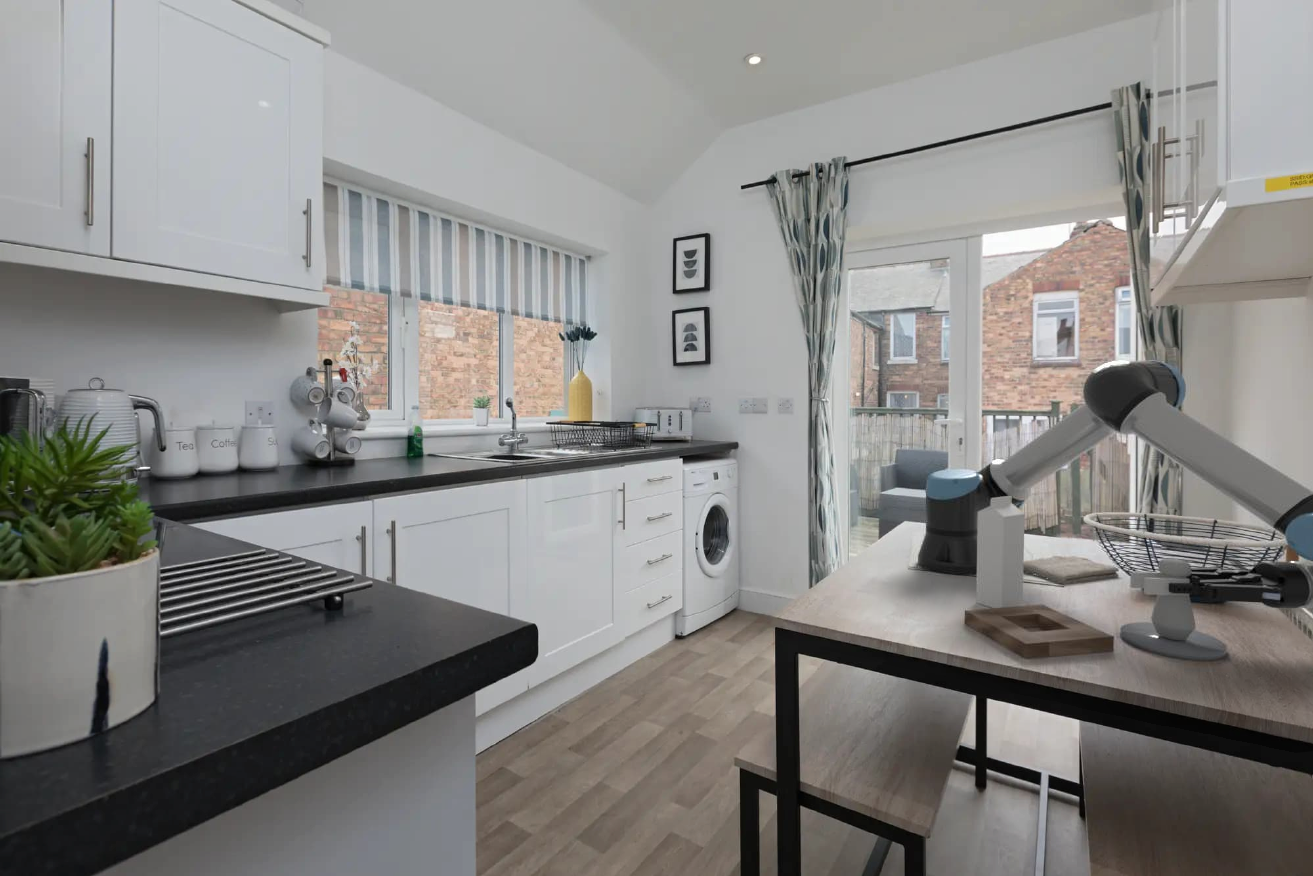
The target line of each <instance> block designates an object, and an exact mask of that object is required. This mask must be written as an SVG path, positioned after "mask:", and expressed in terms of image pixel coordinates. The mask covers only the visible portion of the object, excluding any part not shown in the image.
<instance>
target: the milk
mask: <svg viewBox="0 0 1313 876" xmlns="http://www.w3.org/2000/svg"><path fill="white" fill-rule="evenodd" d="M1025 515H1026V514H1025V513H1024V512H1023V511H1022V510H1020V508H1019V509H1018V508H1017V507H1016V506H1014V505H1013V504H1012V497H1011V496H1005V497H997V498H991V503H990V506H989V507H987V508H985V509H983V510H980V511H978V531H977V574H976V594H975V595H976V597H975V598H976V600H975V602H976V603H977V604H980V605H983V606H986V607H987V608H988V607H989V608H1002V607H1015V606H1024V605H1023V601H1024V600H1023V599H1024V598H1023V597H1024V572H1023V564H1024V561H1025V560H1024V558H1025V557H1024V555H1025V553H1024V552H1025V520H1026V519H1025Z"/></svg>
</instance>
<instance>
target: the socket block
mask: <svg viewBox="0 0 1313 876" xmlns="http://www.w3.org/2000/svg"><path fill="white" fill-rule="evenodd" d="M964 624H965V625H966V626H969V627H970V628H972V629H973V630H975V631H977V632H979V633H981V634H982V635H984V636H986V638H987V637H988V638H989V639H991V640H993V641H995V642H996V643H998V644H999V645H1001V646H1003V647H1005V648H1006V649H1008V650H1010V651H1012V652H1013V653H1015V654H1016V655H1018V656H1020V657H1022V658H1024V659H1025V660H1029V659H1038V658H1048V657H1060V656H1061V657H1062V656H1072V655H1073V656H1074V655H1083V654H1094V653H1104V652H1105V653H1107V652H1113V651H1114V644H1115V636H1114V635H1112V634H1110V633H1107V632H1106V631H1103V630H1101V629H1098V628H1097V627H1094V626H1091V625H1089V624H1087V623H1084V622H1083V621H1080V620H1078V619H1075V617H1074V618H1073V617H1071V616H1069V615H1067V614H1065V613H1062V612H1060V611H1058V610H1056V609H1053V608H1051V607H1049V606H1046V605H1044V604H1032V605H1031V604H1030V605H1023V606H1015V607H1002V608H991V607H989V608H988V607H987V608H978V609H966V610H964ZM1028 628H1029V629H1030V628H1039V629H1042V630H1041V631H1029V630H1028Z"/></svg>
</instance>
